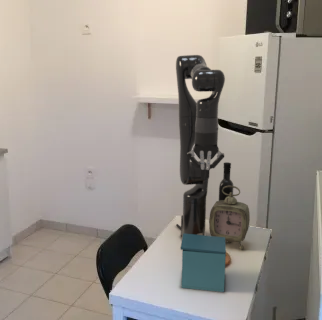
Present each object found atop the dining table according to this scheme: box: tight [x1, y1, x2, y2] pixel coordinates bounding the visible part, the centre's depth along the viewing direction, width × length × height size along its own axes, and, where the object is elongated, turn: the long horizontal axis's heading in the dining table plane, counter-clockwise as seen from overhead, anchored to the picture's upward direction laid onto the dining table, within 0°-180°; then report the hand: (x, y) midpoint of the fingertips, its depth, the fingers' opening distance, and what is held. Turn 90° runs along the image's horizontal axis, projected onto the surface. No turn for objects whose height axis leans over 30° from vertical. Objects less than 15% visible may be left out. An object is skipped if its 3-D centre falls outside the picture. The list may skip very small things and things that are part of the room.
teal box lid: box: [180, 233, 227, 255], centre depth 146 cm, size 14×12×1 cm
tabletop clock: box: [208, 185, 251, 250], centre depth 174 cm, size 14×9×25 cm, turn 65°
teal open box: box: [181, 250, 227, 293], centre depth 148 cm, size 14×12×13 cm
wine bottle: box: [218, 161, 234, 201], centre depth 189 cm, size 6×6×30 cm
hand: (204, 179), depth 152 cm, fingers closed
